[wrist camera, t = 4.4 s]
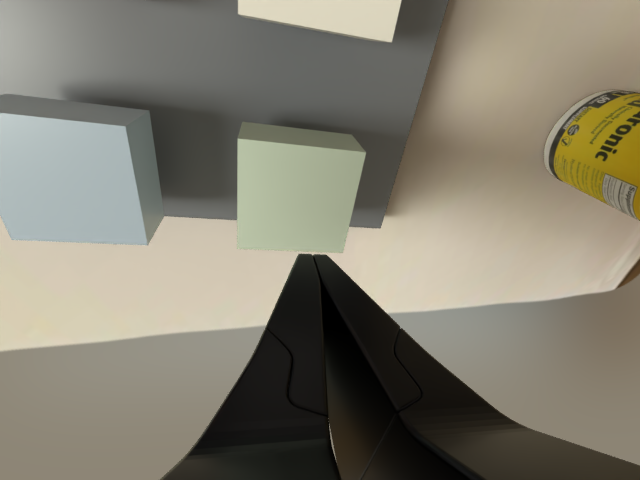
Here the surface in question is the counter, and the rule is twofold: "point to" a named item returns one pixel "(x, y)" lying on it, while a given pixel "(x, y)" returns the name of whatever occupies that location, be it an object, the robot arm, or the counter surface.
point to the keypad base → (224, 84)
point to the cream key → (329, 16)
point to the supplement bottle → (600, 149)
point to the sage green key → (295, 188)
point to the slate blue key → (77, 172)
